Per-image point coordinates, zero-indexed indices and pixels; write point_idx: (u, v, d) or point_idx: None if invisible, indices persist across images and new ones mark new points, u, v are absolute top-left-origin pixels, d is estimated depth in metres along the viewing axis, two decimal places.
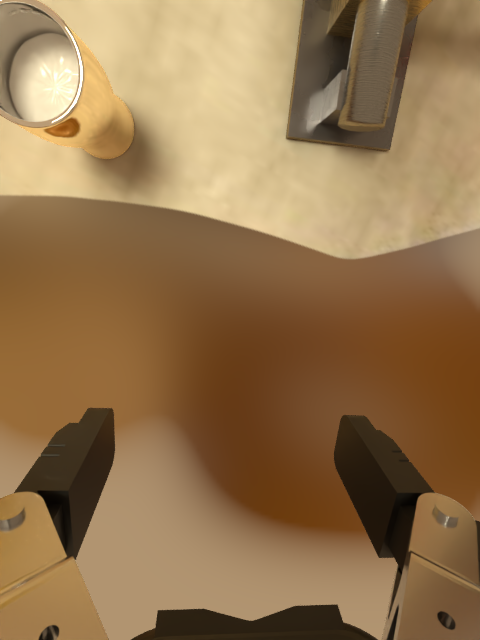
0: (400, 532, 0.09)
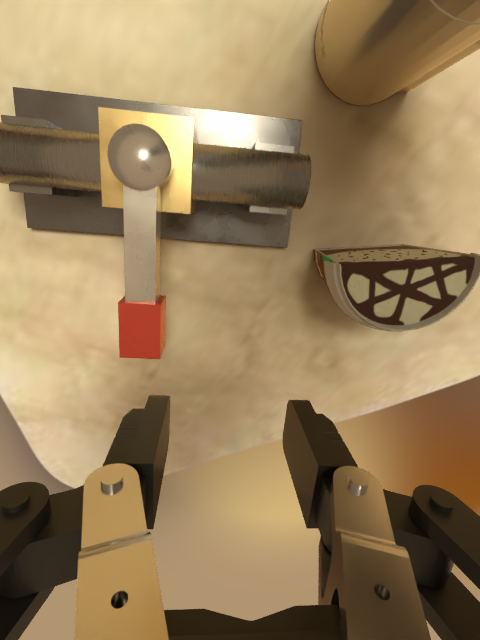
0: (322, 503, 0.09)
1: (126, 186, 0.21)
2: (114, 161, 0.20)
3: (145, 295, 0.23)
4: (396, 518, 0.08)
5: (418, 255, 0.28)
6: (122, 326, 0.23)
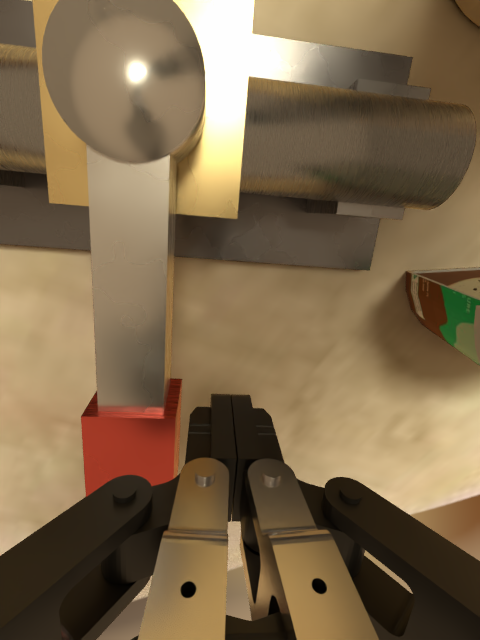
0: (242, 495, 0.09)
1: (95, 151, 0.08)
2: (61, 83, 0.08)
3: (142, 397, 0.10)
4: None
5: None
6: (91, 462, 0.11)
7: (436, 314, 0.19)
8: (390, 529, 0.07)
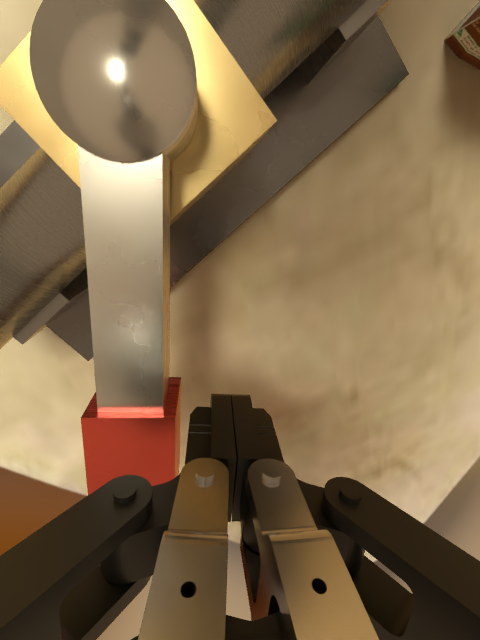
0: (242, 495, 0.09)
1: (87, 151, 0.08)
2: (50, 82, 0.08)
3: (141, 397, 0.10)
4: None
5: None
6: (93, 463, 0.11)
7: None
8: (390, 529, 0.07)
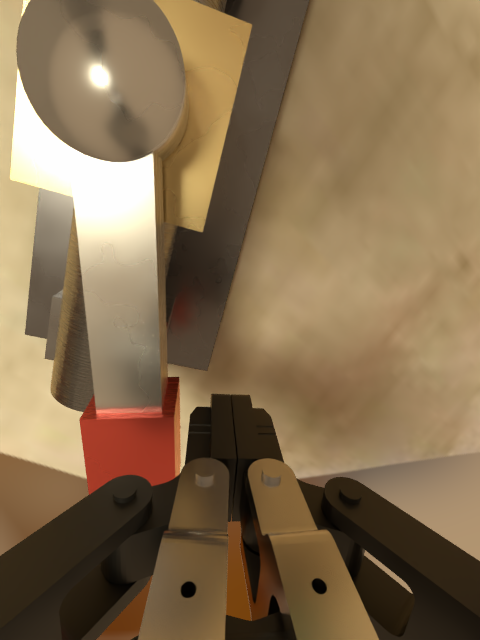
0: (242, 495, 0.09)
1: (77, 153, 0.08)
2: (38, 84, 0.08)
3: (139, 398, 0.10)
4: None
5: None
6: (93, 464, 0.11)
7: None
8: (390, 529, 0.07)
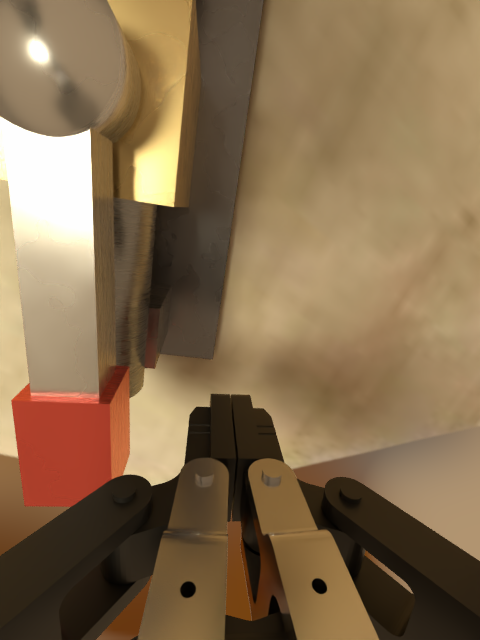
0: (243, 495, 0.09)
1: (11, 124, 0.08)
2: None
3: (75, 382, 0.10)
4: None
5: None
6: (25, 448, 0.10)
7: None
8: (390, 529, 0.07)
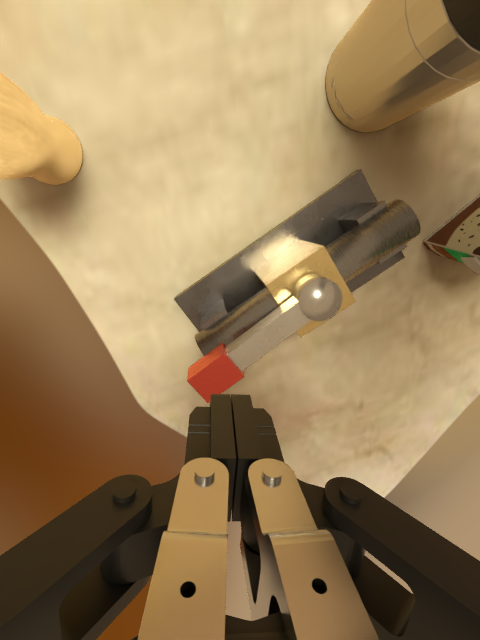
0: (243, 495, 0.09)
1: (298, 304, 0.28)
2: (308, 289, 0.27)
3: (241, 362, 0.29)
4: None
5: None
6: (210, 366, 0.29)
7: (450, 257, 0.36)
8: (390, 529, 0.07)
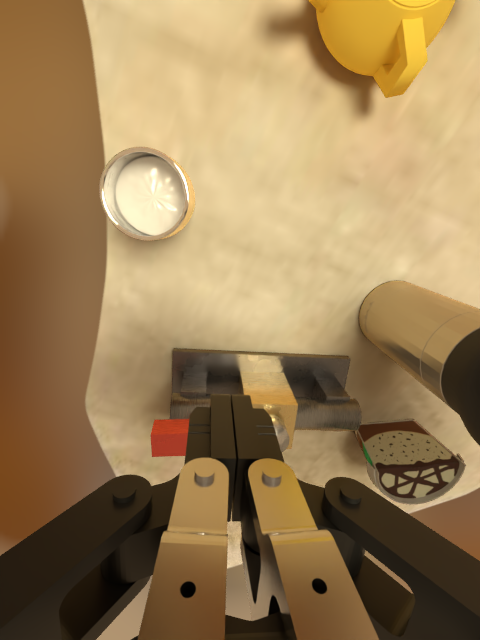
0: (243, 495, 0.09)
1: None
2: None
3: None
4: None
5: (424, 452, 0.45)
6: (173, 435, 0.36)
7: (362, 449, 0.48)
8: (390, 529, 0.07)
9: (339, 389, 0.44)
